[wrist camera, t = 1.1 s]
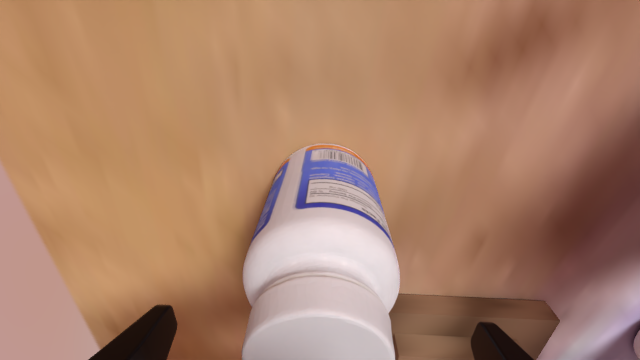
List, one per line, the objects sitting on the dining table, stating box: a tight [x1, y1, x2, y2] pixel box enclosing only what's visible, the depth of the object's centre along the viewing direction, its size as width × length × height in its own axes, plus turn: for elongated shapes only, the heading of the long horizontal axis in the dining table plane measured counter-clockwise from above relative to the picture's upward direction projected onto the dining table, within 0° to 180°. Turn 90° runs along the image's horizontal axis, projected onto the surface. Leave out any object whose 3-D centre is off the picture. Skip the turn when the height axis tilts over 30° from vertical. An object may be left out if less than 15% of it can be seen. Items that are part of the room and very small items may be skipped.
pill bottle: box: [242, 144, 400, 360], centre depth 12 cm, size 5×5×10 cm
